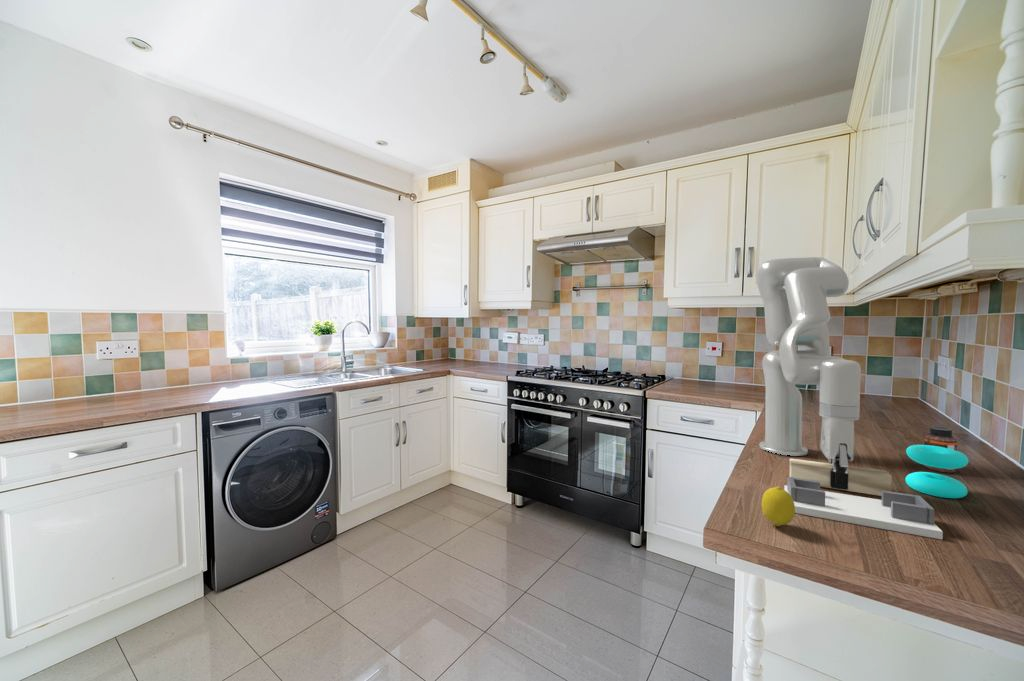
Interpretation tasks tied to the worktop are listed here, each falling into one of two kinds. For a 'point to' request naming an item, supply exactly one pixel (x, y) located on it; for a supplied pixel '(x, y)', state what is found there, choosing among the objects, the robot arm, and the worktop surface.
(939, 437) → the supplement bottle
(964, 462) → the donuts
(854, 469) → the slat
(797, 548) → the worktop surface
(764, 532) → the worktop surface
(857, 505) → the board
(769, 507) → the lemon
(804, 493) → the end caps
